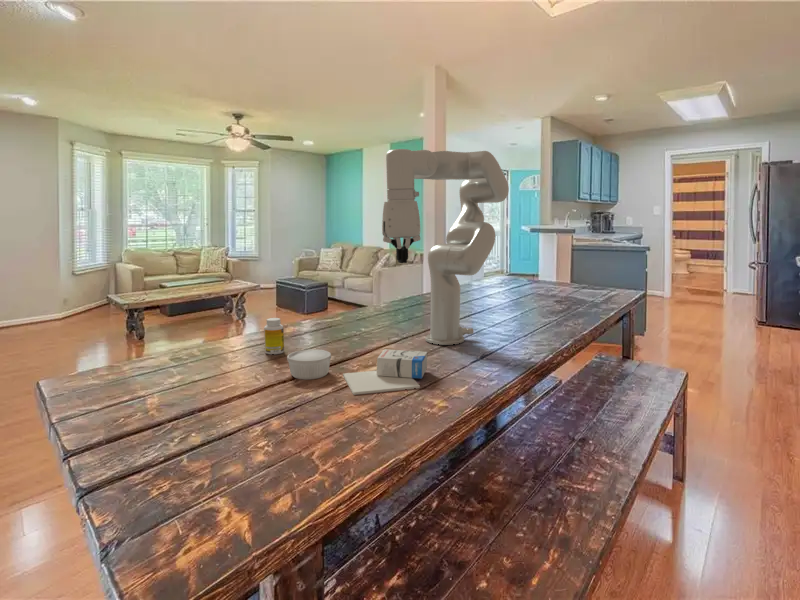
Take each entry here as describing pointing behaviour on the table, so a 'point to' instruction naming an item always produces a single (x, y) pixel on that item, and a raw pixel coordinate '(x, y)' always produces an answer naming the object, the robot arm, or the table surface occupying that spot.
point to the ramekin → (309, 363)
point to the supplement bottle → (274, 336)
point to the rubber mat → (377, 382)
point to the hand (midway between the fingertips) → (402, 262)
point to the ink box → (402, 363)
